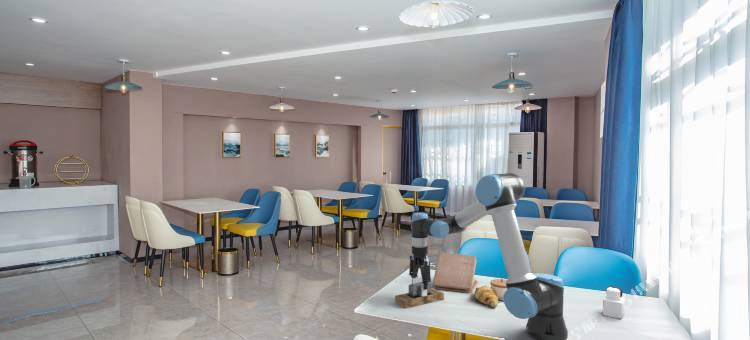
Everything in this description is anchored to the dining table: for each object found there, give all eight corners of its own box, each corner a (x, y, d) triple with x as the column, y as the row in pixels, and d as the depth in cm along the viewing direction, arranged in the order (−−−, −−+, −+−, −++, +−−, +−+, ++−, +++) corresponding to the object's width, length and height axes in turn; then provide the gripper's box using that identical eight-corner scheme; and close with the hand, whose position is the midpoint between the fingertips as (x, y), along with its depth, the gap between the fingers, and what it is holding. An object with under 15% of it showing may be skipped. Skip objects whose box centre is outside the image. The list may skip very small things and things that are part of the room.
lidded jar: (493, 301, 205) (494, 282, 205) (487, 294, 216) (488, 275, 215) (516, 302, 205) (516, 282, 205) (509, 294, 216) (509, 275, 215)
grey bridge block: (425, 297, 212) (425, 281, 211) (430, 299, 209) (429, 282, 208) (408, 301, 207) (408, 284, 206) (413, 303, 204) (412, 286, 203)
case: (431, 289, 225) (432, 259, 224) (441, 278, 244) (442, 249, 243) (471, 295, 217) (472, 263, 216) (478, 282, 236) (479, 253, 235)
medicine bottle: (606, 310, 194) (607, 283, 194) (624, 314, 190) (625, 287, 189) (602, 315, 189) (603, 288, 188) (621, 319, 184) (622, 291, 184)
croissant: (501, 315, 197) (509, 300, 197) (483, 306, 195) (491, 290, 195) (481, 299, 218) (488, 285, 218) (464, 290, 216) (472, 276, 216)
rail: (432, 294, 217) (432, 287, 217) (444, 299, 209) (444, 293, 209) (395, 302, 206) (395, 295, 206) (405, 308, 198) (405, 301, 198)
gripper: (438, 248, 200) (438, 298, 201) (414, 240, 217) (414, 286, 218) (425, 250, 196) (425, 301, 197) (401, 242, 213) (401, 289, 214)
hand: (419, 293), depth 208 cm, fingers open, 7 cm apart
